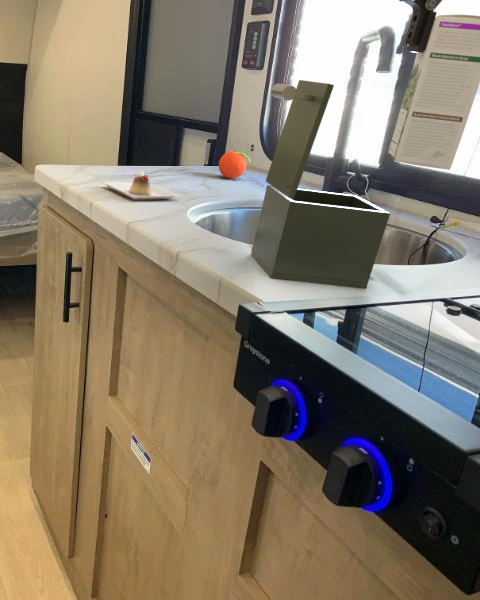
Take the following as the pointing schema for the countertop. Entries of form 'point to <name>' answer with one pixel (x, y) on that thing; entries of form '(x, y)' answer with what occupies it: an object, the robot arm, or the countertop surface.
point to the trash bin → (319, 237)
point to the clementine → (232, 164)
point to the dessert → (140, 189)
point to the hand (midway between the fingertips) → (450, 56)
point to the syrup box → (439, 94)
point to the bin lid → (297, 132)
